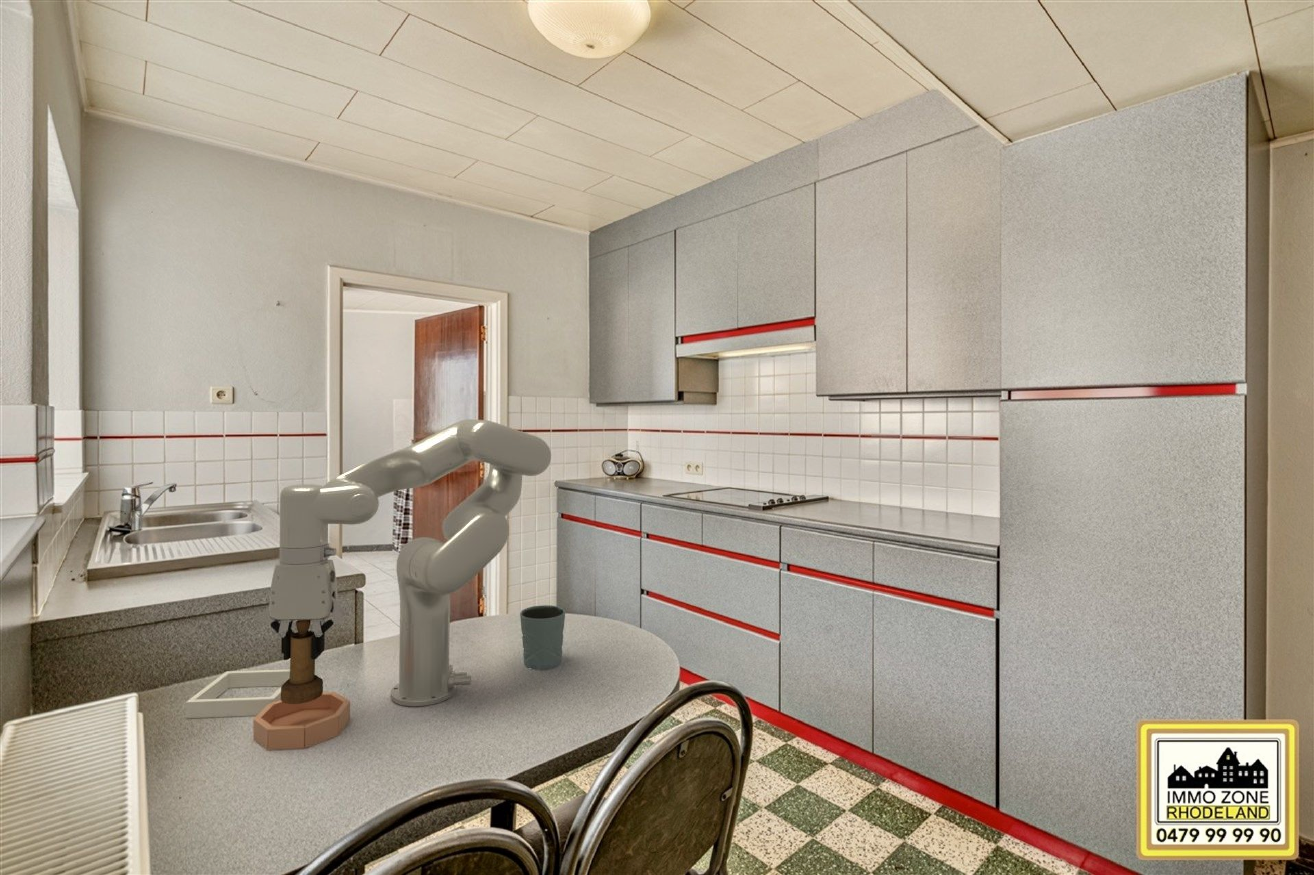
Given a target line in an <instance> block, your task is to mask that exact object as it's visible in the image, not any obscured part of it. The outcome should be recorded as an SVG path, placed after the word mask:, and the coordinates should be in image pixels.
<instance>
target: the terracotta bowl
mask: <svg viewBox="0 0 1314 875" xmlns="http://www.w3.org/2000/svg"><path fill="white" fill-rule="evenodd" d="M350 720H351V700H350V699H348V698H346V697H345V696H343V695H341V694H339V693H338V692H336V691H328V692H327V691H325V692H324V691H323V693H322V695H321V696H320V697H319V698H317V699H315V700H312V701H309V702H306V703H301V704H287V703H284V702H282V701H281V700H279V701H276V702H273V703H270V704H268V705H267V706H266V707H265V708H264V709H263V710H262V711H261V712H260V713H259V714H258V715H257V716H254V718H253V731H252V732H253V736H252V737H253V740H254V741H255V742H256V743H257V744H259V745H261V746H262V747H263V748H264V749H266V750H267V751H278V750H299V749H300V750H301V749H302V750H303V749H307V748H309V747H312V746H315V745H317V744H319V743H322V742H326V741H327V740H330V739H333V738H336V737H338V736H340V734H341V733H342V732H343V731H344V729H345V728H346V726H347V725H348V723H349V722H350Z"/></svg>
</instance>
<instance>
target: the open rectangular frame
mask: <svg viewBox="0 0 1314 875" xmlns="http://www.w3.org/2000/svg"><path fill="white" fill-rule="evenodd" d="M288 679H290V669H267V670H266V669H265V670H264V669H263V670H258V669H257V670H231V671H229V670H227V671H225V672H223V673H222V674H221V675H219V676H218V677H217V678H216V679H214V680H213V681H212V682H210V683H209V684H207V685H206V686H205V687H203V689H201V690H200V691H198V692H197V693H196V694H195V695H193V696H192V697H190V698H189V699H188V700H187V701H185V719H204V718H207V719H208V718H223V717H224V718H225V717H227V718H228V717H229V718H230V717H248V716H249V717H253V716H254V717H256V716H257V715H258V714H259V713H260V712H261V711H262V710H263V709H264V708H265V707H266V706H267V705H268V704H270V703H273V702H276V701H279V700H281V686H282V685H283V684H284V683H285V682H286V681H287V680H288ZM259 687H263V688H265V687H279V688H278V689H277V690H276V691H275V692H274V693H273V694H272V695H271V696H260V697H259V696H258V697H252V696H251V697H234V698H233V697H229V698H228V697H227V698H218V697H220V696H221V695H222V694H223V693H224V692H226V691H227V690H228V689H230V688H231V689H232V688H233V689H234V688H236V689H237V688H259Z"/></svg>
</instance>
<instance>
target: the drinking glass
mask: <svg viewBox="0 0 1314 875" xmlns="http://www.w3.org/2000/svg"><path fill="white" fill-rule="evenodd" d="M519 615H520V616H519V617H520V626H521V628H520V631H521V634H522V636H521V638H522V640H521V641H522V648H523V651H522V652H523V654H522V656H523V664H524V666H525V667H526V668H528V669H529V668H531V669H530V670H533V669H534V670H535V671H547V670H546V669H548V670H552V669H551V668H553V669H555V668H557V666H558V667H559V666H560V665H561V664H562V658H563V657H562V656H563V644H564V629H565V621H566V620H565V618H566V610H565V609H564V608H562V607H560V606H557V605H547V604H544V605H534V606H529V607H526V608H524V609H522V610H521V611H520V613H519Z"/></svg>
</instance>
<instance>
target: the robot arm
mask: <svg viewBox="0 0 1314 875" xmlns="http://www.w3.org/2000/svg"><path fill="white" fill-rule="evenodd" d="M551 460H552V452H551V449H550V447H549V445H548V443H547V442H546V441H545V440H544V439H542V438H540V437H539V436H536V435H533V434H529V433H527V432H524V431H520V430H518V429H515V428H512V427H509V426H508V425H503V424H500V423H497V422H494V421H492V420H486V419H485V420H484V419H470V418H469V419H468V418H467V419H464V420H459V421H456V422H455V423H452V424H451V425H448V426H446V427H444V428H441V430H439V431H437V432H435V433H433V434H430V435H429V436H427V437H425V438H423V439H421V440H419V441H417V442H415V443H413V444H411V445H409V446H406V447H405V448H402V449H398V450H396V451H393V452H390V453H388V454H386V455H383V456H380V457H378V458H375V459H372V460H370V461H367V462H365V463H363V464H361V465H359V466H356V467H354V468H352V469H349V470H348V471H345V473H342V474H340V475H338V476H336V477H334V478H332V479H331V480H329V481H327V483H325V484H324V485H321V484H314V483H313V484H308V483H306V484H293V485H288V486H286V487H284V488H282V490H281V491H280V495H279V558H278V560H279V561H278V562H277V563H275V565H274V566H275V567H274V569H273V573H272V577H271V578H272V580H271V584H270V590H269V591H270V592H269V604H268V605H267V606H266V609H265V610H264V611H263V613H262V615H261V616H260V618H259V620H260V621H261V622H263V623H265V624H266V625H268V626H270V628H272V630H274V631H275V633H277V634H278V637H279V638H280V640H281V641H280V642H281V643H280V644H281V645H280V646H281V648H280V649H281V650H280V652H281V654H283V660H284V661H288V660H290V650H291V635H292V634H294V633H296V632H295V631H293V627H294V624H295V622H294V621H298V620H311V622H312V627H313V632H314V636H313V637H312V638H311V659H315V660H316V659H318V658H319V657H320V656H321V655H322V653H323V652H324V651H325V646H326V645H325V643H326V641H325V638H326V636H325V634H326V632H327V631H328V630H329V629H330V628H331V627H332V626H334V625H336V624H337V623H340V621H342V620H343V619H344V618H345V617H346V616H347V614H346V613H345V612H344V610H343V608H342V607H341V606H340V603H339V596H338V595H339V593H338V583H337V580H338V579H337V574H336V568H335V564H334V561H333V559H329V558H330V557H332V556H336V554H337V548H335V547H330V543H329V525H351V526H352V525H353V526H354V525H360V524H363V523H366V522H368V521H370V519H372V518H373V517H375V515H376V514H377V512H378V510H379V506H380V503H379V502H380V501H379V498H380V497H383V496H384V495H387V494H389V493H392V492H397V491H401V490H408V489H415V488H416V489H417V488H420V487H424V486H427V485H431V484H433V483H435V482H436V481H438V480H440V479H441V478H443V477H445V476H447V475H448V474H450V473H452V472H454V471H456V470H457V469H459V468H461V467H463V466H465V465H466V464H469V463H470V462H473V461H474V462H475V461H476V462H481V463H482V462H483V463H487V464H489V468H488V474H487V477H486V479H485V480H484V481H483V483H482V484H481V485H480V486H479V487H477V489H476V490H475V491H474V492H472V493H471V494H470V495H469V496H468V497H467V498H465V499H464V500H463V501H462V502H460V503H459V504H458V505H456V506H455V508H453V509H452V510H451V511H450V512H449V513H448V515H447V516H446V517H445V519H444V520H443V522H442V527H441V528H442V529H441V530H442V534H443V537H444V539H445V540H446V541H445V542H444V541H441V540H438V539H436V538H433V537H428V536H426V537H425V536H424V537H423V536H422V537H421V536H420V537H417V538H416V537H415V538H413V539H411V540H410V541H409V540H408V541H407V543H406V544H404V545H403V546H402V548H401V549H400V551H399V553H398V555H397V557H396V558H397V560H396V577H397V583H398V592H399V661H398V663H399V664H398V666H399V667H398V668H399V669H398V671H399V672H398V673H399V674H398V677H399V678H398V681H399V682H398V683H396V684H395V685H394V686H393V687H392V688H391V690H390V699H391V701H392V702H394V703H395V704H398V705H400V706H405V707H406V706H407V707H425V706H430V705H434V704H438V703H441V702H443V701H446V700H448V699H449V698H451V697H452V696H454V695H455V693H456V692H457V691H458V690H457V689H458V686H471V683H472V675H471V674H469V675H468V672H467V671H460V672H459V671H458V672H456V671H455V670H454V668H453V666H454V665H453V664H450V639H451V637H450V632H451V631H450V627H451V626H450V623H451V622H450V620H451V619H450V617H451V601H450V595H452V594H454V593H457V592H458V591H460V590H462V588H464V587H465V586H466V585H467V584H468V583H469V582H471V580H473V579H474V578H475V577H476V576H477V575H478V574H479V573H480V572H481V571H482V570H484V568H485V567H487V565H489V563H491V562H492V560H494V559H495V558H496V557H497V555H499V554H500V552H501V551H502V550H503V548H504V547H505V545H506V543H507V541H508V538H509V534H510V524H509V521H508V519H507V516H508V514H509V513H510V512H511V511H512V510H513V509H514V508H515V507H516V506H517V504H518V502H519V500H520V497H521V494H522V486H523V476H526V477H535V476H538V475H540V474H543V473H544V472H545V471H546V470H547V469H548V467H549V466H550V464H551ZM331 614H332V615H333V616H332V617H330V615H331ZM329 617H330V618H329ZM327 618H329V619H327Z"/></svg>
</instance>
